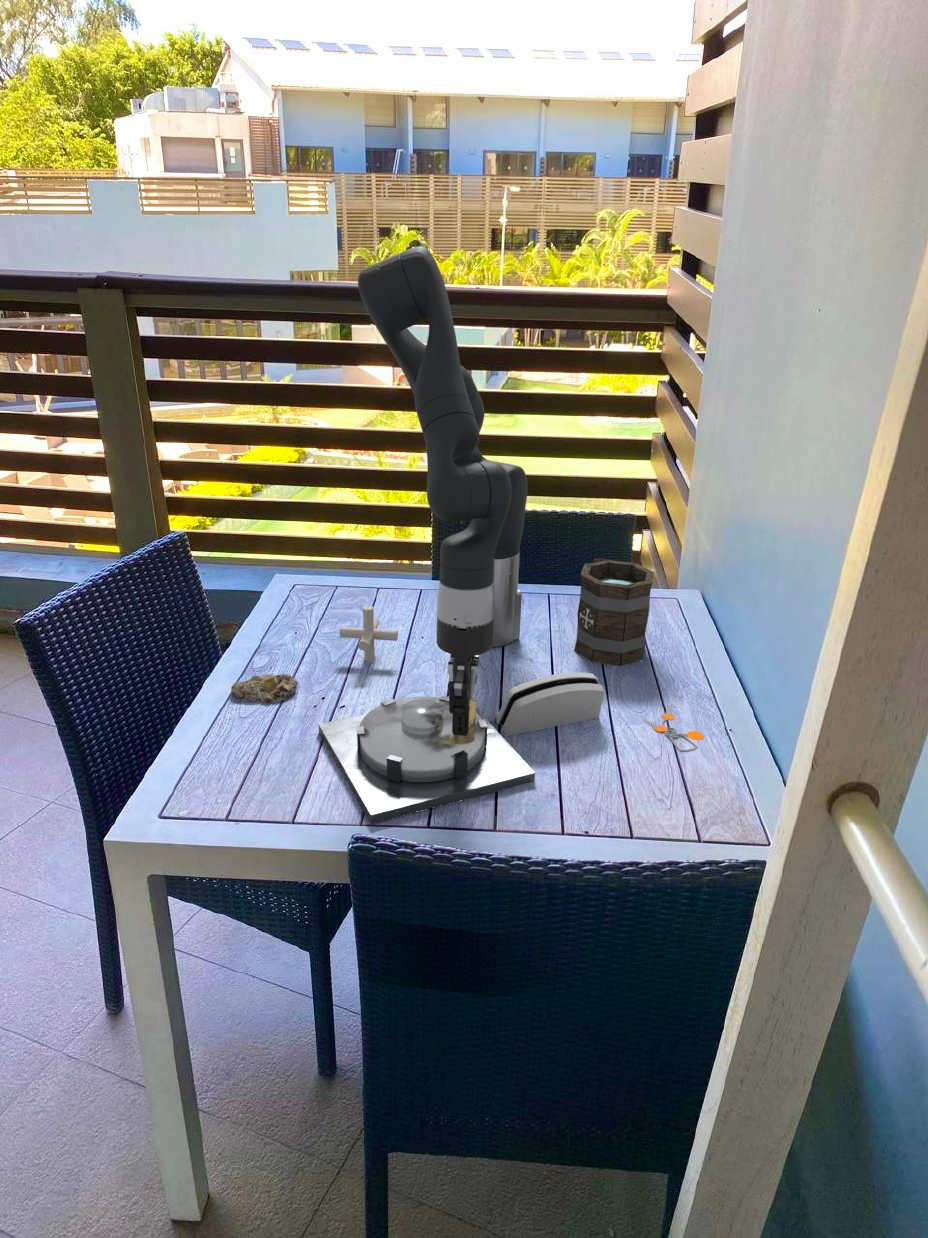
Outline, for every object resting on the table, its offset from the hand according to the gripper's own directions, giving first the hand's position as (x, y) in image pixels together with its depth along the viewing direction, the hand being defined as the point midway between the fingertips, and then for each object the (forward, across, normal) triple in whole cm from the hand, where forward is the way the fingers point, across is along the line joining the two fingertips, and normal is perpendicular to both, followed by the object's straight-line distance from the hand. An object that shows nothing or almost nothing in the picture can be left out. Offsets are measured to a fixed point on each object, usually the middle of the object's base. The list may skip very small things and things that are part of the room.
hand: (461, 727), depth 121 cm
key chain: (+7, -16, +32) cm, 36 cm away
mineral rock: (+7, -17, -34) cm, 39 cm away
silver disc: (+5, -2, -6) cm, 8 cm away
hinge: (+6, -14, +12) cm, 20 cm away
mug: (+5, -45, +22) cm, 50 cm away
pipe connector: (+6, -31, -20) cm, 37 cm away
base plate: (+7, -2, -6) cm, 9 cm away
